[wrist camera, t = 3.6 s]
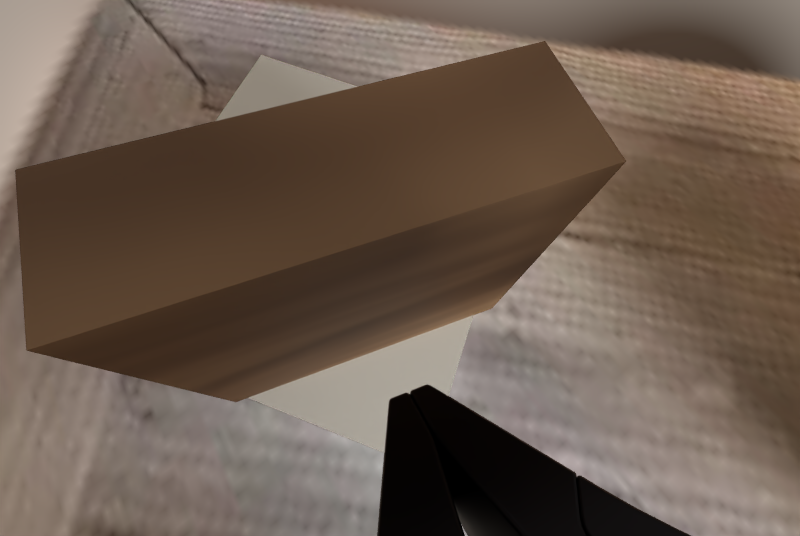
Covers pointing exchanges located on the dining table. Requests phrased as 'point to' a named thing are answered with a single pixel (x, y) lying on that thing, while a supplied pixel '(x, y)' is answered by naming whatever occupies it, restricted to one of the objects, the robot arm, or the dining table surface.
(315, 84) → the felt mat
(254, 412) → the dining table surface
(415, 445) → the robot arm
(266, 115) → the walnut slab
